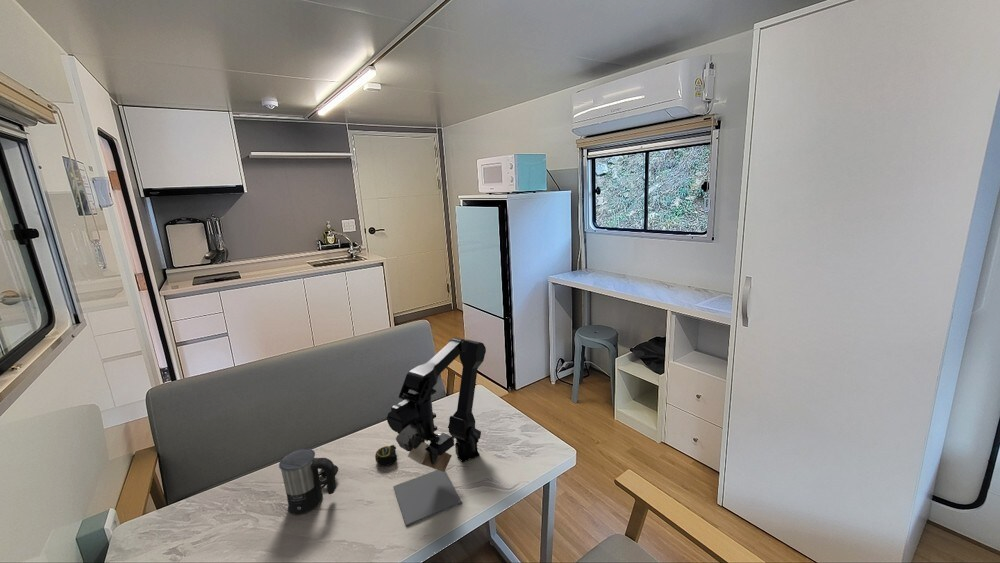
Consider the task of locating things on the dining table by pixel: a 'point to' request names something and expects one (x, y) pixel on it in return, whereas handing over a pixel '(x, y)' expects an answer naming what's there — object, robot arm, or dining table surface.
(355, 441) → the dining table surface
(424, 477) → the charcoal mat
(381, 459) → the tape measure
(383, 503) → the dining table surface
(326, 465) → the milk frother
